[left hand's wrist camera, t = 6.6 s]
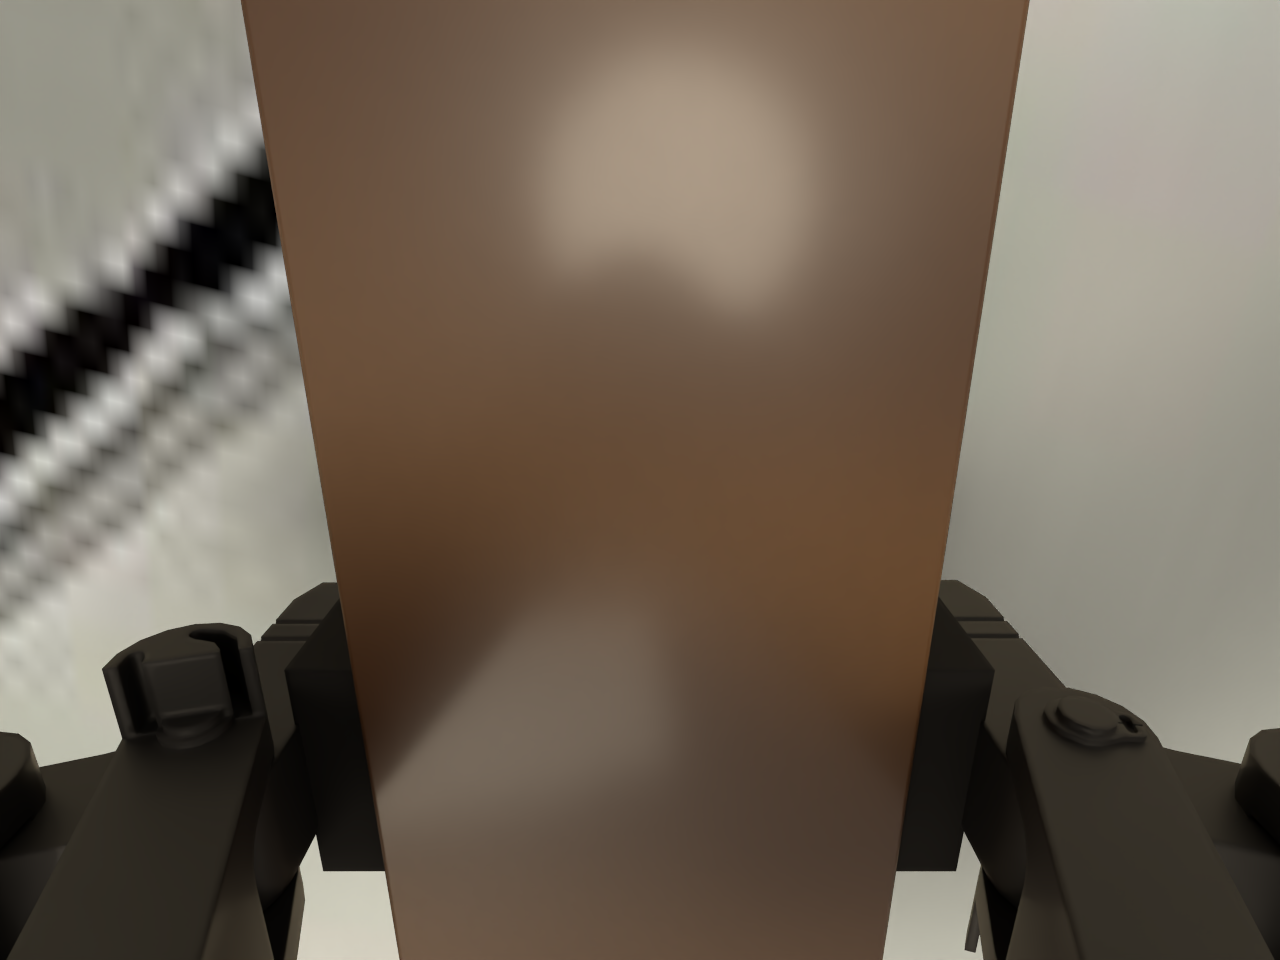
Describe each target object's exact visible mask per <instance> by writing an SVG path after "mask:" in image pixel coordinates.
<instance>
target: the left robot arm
mask: <svg viewBox="0 0 1280 960" xmlns="http://www.w3.org/2000/svg"><path fill="white" fill-rule="evenodd" d="M102 671H103V674H104V678H105V681H106V684H107V688H108V691H109V695H110V698H111V701H112V705H113V708H114V712H115V715H116V718H117V722H118V725H119V729H120V732H121V735H122V741H121V742H120V744H119V746H118V748H117V750H116V751H115V752H111V753H107V754H103V755H98V756H93V757H88V758H83V759H78V760H73V761H68V762H63V763H58V764H53V765H48V766H44V767H39V766H38V763H37V760H36V757H35V754H34V752H33V749H32V746H31V743H30V742H29V741H28V740H26V739H25V738H24V737H22V736H21V735H20V734H16V733H6V732H0V960H297V954H298V947H299V940H300V932H301V925H302V918H303V911H304V904H305V896H304V888H303V882H302V877H301V872H300V867H299V866H300V864H301V862H302V860H303V858H304V856H305V854H306V852H307V850H308V848H309V846H310V844H311V843H312V841H313V839H314V837H315V835H316V836H317V841H318V846H319V851H320V857H321V862H322V867H323V871H385V868H384V862H383V856H382V850H381V844H380V838H379V832H378V826H377V820H376V814H375V808H374V802H373V796H372V790H371V783H370V777H369V771H368V765H367V759H366V753H365V747H364V741H363V735H362V729H361V723H360V717H359V711H358V705H357V699H356V693H355V687H354V681H353V675H352V669H351V663H350V657H349V651H348V644H347V638H346V632H345V626H344V620H343V614H342V608H341V602H340V596H339V590H338V584H337V583H321V584H320V585H318V586H316V587H315V588H313V589H311V590H310V591H308V592H306V593H305V594H303V595H301V596H299V597H298V598H296V599H294V600H293V601H292V602H291V604H290V605H289V606H288V607H287V608H286V609H285V610H284V612H283V613H282V614H281V615H280V616H279V617H278V618H277V620H276V624H272V625H271V626H270V627H269V629H268V630H267V631H266V632H265V633H264V634H263V635H262V637H261V641H257V642H256V643H255V645H254V646H253V643H252V638H251V635H250V634H249V633H248V632H246V631H245V630H244V629H242V628H241V627H239V626H234V625H228V624H223V623H210V624H194V625H189V626H185V627H180V628H175V629H171V630H167V631H164V632H161V633H159V634H156V635H153V636H151V637H148V638H145V639H143V640H140V641H138V642H137V643H135V644H133V645H132V646H130V647H128V648H126V649H125V650H123V651H121V652H120V653H118V654H116V655H115V656H114V657H113V658H112V659H111V660H110V661H109V662H108V663H107V664H106V665H105V666H104V667H103V668H102ZM964 832H965V834H966V836H967V838H968V840H969V842H970V844H971V846H972V848H973V850H974V852H975V853H976V855H977V857H978V859H979V861H980V863H981V867H980V872H979V877H978V882H977V887H976V891H975V896H974V901H973V906H972V910H971V915H970V920H969V925H968V930H967V935H966V943H965V950H967V951H971V952H976V947H977V943H978V938H979V935H980V938H981V945H982V952H983V959H984V960H1280V728H1277V729H1268V730H1261V731H1260V732H1259V733H1257V734H1256V735H1254V736H1253V737H1252V738H1250V740H1249V743H1248V746H1247V749H1246V752H1245V755H1244V757H1243V760H1242V763H1241V764H1239V763H1234V762H1229V761H1224V760H1219V759H1214V758H1209V757H1204V756H1199V755H1194V754H1189V753H1184V752H1179V751H1175V750H1171V749H1167V748H1163V747H1162V745H1161V743H1160V741H1159V739H1158V737H1157V736H1156V735H1155V734H1154V733H1153V731H1152V730H1151V729H1150V728H1149V727H1148V725H1147V724H1146V723H1145V722H1144V721H1143V720H1141V719H1140V718H1139V717H1137V716H1136V715H1134V714H1133V713H1131V712H1130V711H1128V710H1127V709H1126V708H1124V707H1123V706H1121V705H1118V704H1116V703H1114V702H1111V701H1109V700H1107V699H1105V698H1102V697H1100V696H1098V695H1095V694H1091V693H1087V692H1083V691H1079V690H1075V689H1071V688H1066V687H1065V686H1064V685H1063V684H1062V683H1061V681H1060V680H1059V679H1058V678H1057V677H1056V676H1055V675H1054V674H1053V672H1052V671H1051V670H1050V669H1049V668H1048V667H1047V666H1046V665H1045V663H1044V662H1043V661H1042V660H1041V659H1040V658H1039V657H1038V655H1037V654H1036V653H1035V652H1034V651H1033V650H1032V649H1031V648H1030V646H1029V645H1028V644H1027V643H1026V642H1025V641H1024V640H1023V639H1022V638H1019V636H1018V633H1017V632H1016V631H1015V630H1014V628H1013V627H1012V626H1011V625H1010V624H1009V623H1008V622H1007V621H1004V617H1003V616H1002V615H1001V614H1000V613H999V611H998V610H997V609H996V608H995V607H994V606H993V605H992V604H991V602H990V601H989V600H988V599H987V598H986V597H985V596H983V595H981V594H980V593H978V592H976V591H974V590H973V589H971V588H969V587H968V586H966V585H964V584H963V583H961V582H959V581H957V580H941V581H940V588H939V594H938V601H937V607H936V614H935V620H934V627H933V633H932V640H931V646H930V653H929V659H928V666H927V673H926V679H925V686H924V692H923V699H922V705H921V712H920V718H919V725H918V731H917V738H916V744H915V751H914V757H913V764H912V770H911V777H910V783H909V790H908V796H907V803H906V809H905V816H904V823H903V829H902V836H901V842H900V849H899V855H898V862H897V868H896V871H956V868H957V863H958V858H959V853H960V848H961V843H962V838H963V833H964Z"/></svg>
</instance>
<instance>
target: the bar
mask: <svg viewBox="0 0 1280 960" xmlns="http://www.w3.org/2000/svg"><path fill="white" fill-rule="evenodd" d="M1029 1H1030V0H241V4H242V10H243V16H244V22H245V28H246V34H247V40H248V46H249V52H250V58H251V64H252V70H253V77H254V83H255V89H256V95H257V101H258V107H259V113H260V119H261V125H262V131H263V137H264V143H265V149H266V155H267V161H268V167H269V173H270V179H271V185H272V191H273V197H274V203H275V209H276V215H277V222H278V228H279V234H280V240H281V246H282V252H283V258H284V264H285V270H286V276H287V282H288V288H289V294H290V300H291V306H292V312H293V318H294V324H295V330H296V336H297V342H298V348H299V354H300V360H301V367H302V373H303V379H304V385H305V391H306V397H307V403H308V409H309V415H310V421H311V427H312V433H313V439H314V445H315V451H316V457H317V463H318V469H319V475H320V481H321V487H322V493H323V499H324V506H325V512H326V518H327V524H328V530H329V536H330V542H331V548H332V554H333V560H334V566H335V572H336V578H337V584H338V590H339V596H340V602H341V608H342V614H343V620H344V626H345V632H346V638H347V644H348V651H349V657H350V663H351V669H352V675H353V681H354V687H355V693H356V699H357V705H358V711H359V717H360V723H361V729H362V735H363V741H364V747H365V753H366V759H367V765H368V771H369V777H370V783H371V790H372V796H373V802H374V808H375V814H376V820H377V826H378V832H379V838H380V844H381V850H382V856H383V862H384V868H385V874H386V880H387V886H388V892H389V898H390V904H391V910H392V916H393V922H394V928H395V935H396V941H397V947H398V953H399V959H400V960H883V953H884V946H885V940H886V933H887V927H888V920H889V914H890V907H891V901H892V894H893V888H894V881H895V875H896V868H897V862H898V855H899V849H900V842H901V836H902V829H903V823H904V816H905V809H906V803H907V796H908V790H909V783H910V777H911V770H912V764H913V757H914V751H915V744H916V738H917V731H918V725H919V718H920V712H921V705H922V699H923V692H924V686H925V679H926V673H927V666H928V659H929V653H930V646H931V640H932V633H933V627H934V620H935V614H936V607H937V601H938V594H939V588H940V581H941V575H942V568H943V562H944V555H945V549H946V542H947V536H948V529H949V522H950V516H951V509H952V503H953V496H954V490H955V483H956V477H957V470H958V464H959V457H960V451H961V444H962V438H963V431H964V425H965V418H966V412H967V405H968V399H969V392H970V386H971V379H972V372H973V366H974V359H975V353H976V346H977V340H978V333H979V327H980V320H981V314H982V307H983V301H984V294H985V288H986V281H987V275H988V268H989V262H990V255H991V249H992V242H993V235H994V229H995V222H996V216H997V209H998V203H999V196H1000V190H1001V183H1002V177H1003V170H1004V164H1005V157H1006V151H1007V144H1008V138H1009V131H1010V125H1011V118H1012V112H1013V105H1014V99H1015V92H1016V85H1017V79H1018V72H1019V66H1020V59H1021V53H1022V46H1023V40H1024V33H1025V27H1026V20H1027V14H1028V7H1029Z"/></svg>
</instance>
